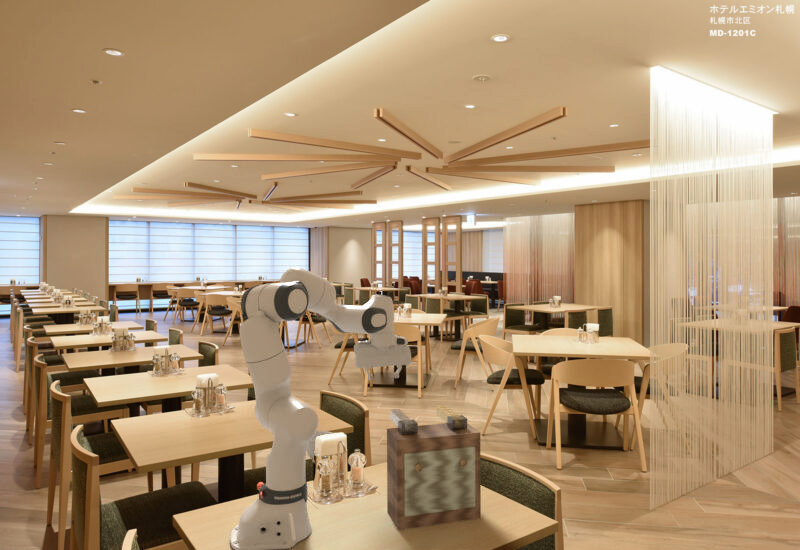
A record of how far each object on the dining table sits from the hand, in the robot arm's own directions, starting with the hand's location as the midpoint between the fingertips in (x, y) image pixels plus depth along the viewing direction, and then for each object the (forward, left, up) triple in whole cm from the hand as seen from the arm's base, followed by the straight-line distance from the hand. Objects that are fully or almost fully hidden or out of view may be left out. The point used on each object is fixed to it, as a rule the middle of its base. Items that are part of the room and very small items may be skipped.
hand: (383, 378), depth 189 cm
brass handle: (+16, -24, -10) cm, 30 cm away
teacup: (-21, +26, -37) cm, 50 cm away
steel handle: (0, -24, -10) cm, 26 cm away
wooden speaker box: (+8, -31, -36) cm, 48 cm away
